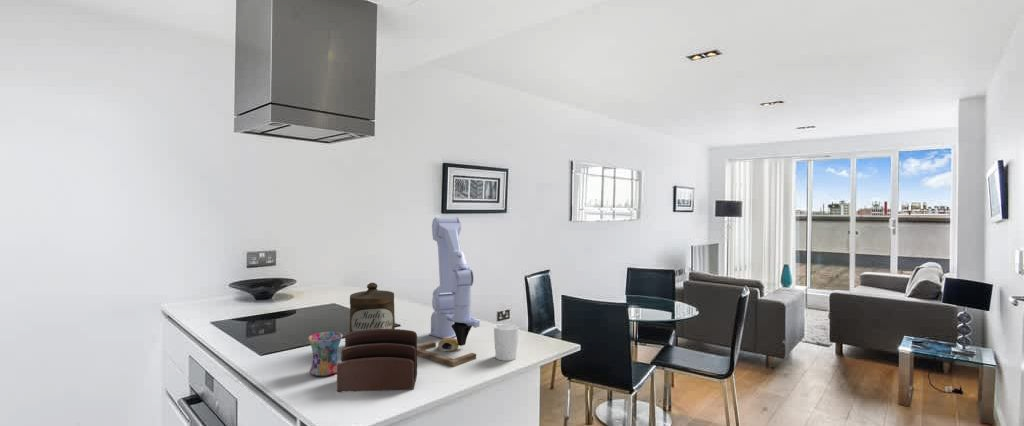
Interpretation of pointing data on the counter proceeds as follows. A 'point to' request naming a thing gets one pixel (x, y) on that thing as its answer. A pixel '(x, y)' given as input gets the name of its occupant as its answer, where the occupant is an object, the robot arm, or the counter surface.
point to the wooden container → (372, 309)
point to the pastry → (448, 344)
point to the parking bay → (442, 359)
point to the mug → (325, 352)
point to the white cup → (506, 341)
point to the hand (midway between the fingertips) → (461, 344)
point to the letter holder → (378, 360)
